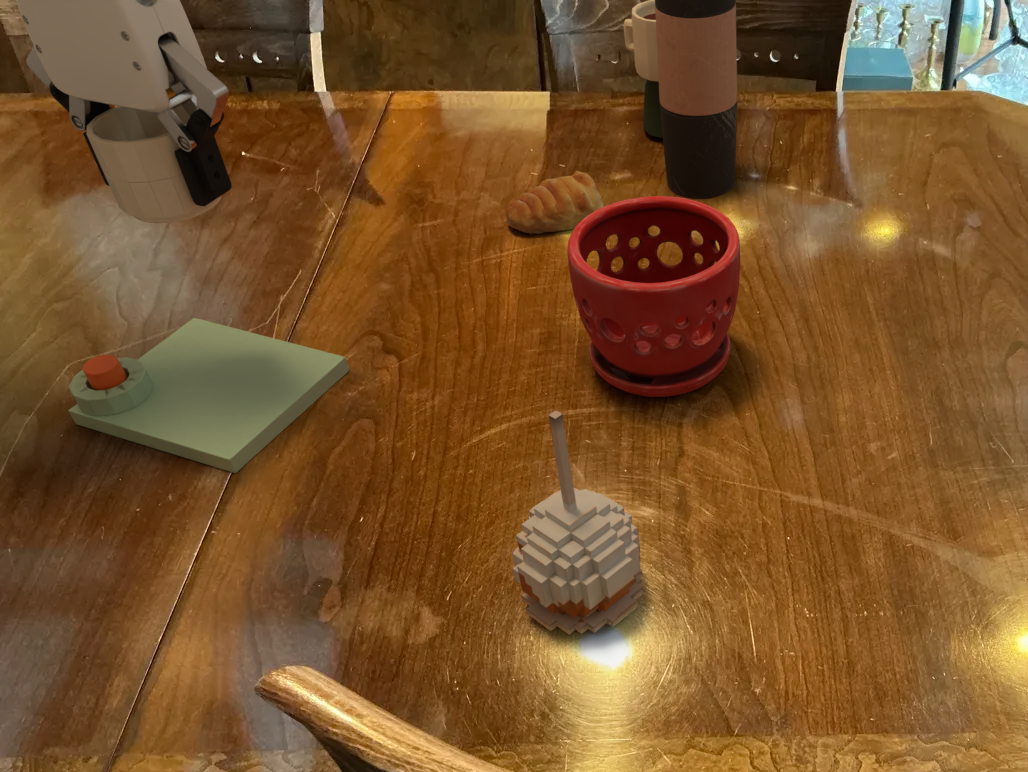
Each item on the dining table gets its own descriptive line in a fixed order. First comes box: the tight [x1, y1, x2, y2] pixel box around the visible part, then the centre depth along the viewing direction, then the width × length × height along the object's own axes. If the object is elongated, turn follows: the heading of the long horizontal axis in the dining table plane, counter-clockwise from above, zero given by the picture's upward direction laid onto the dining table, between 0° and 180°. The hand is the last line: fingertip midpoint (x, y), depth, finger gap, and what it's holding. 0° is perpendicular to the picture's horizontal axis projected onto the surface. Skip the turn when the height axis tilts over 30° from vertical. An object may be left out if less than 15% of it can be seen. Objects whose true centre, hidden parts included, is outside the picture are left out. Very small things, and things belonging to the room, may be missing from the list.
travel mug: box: [655, 0, 738, 199], centre depth 105 cm, size 8×8×20 cm
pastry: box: [505, 170, 605, 235], centre depth 106 cm, size 9×7×4 cm
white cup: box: [87, 97, 222, 224], centre depth 75 cm, size 7×7×6 cm
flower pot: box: [566, 195, 741, 398], centre depth 85 cm, size 13×13×12 cm
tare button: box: [82, 354, 127, 391], centre depth 84 cm, size 3×3×2 cm
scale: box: [68, 317, 350, 474], centre depth 86 cm, size 17×14×3 cm
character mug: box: [623, 0, 663, 139], centre depth 116 cm, size 11×7×13 cm, turn 58°
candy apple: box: [511, 409, 644, 635], centre depth 66 cm, size 8×8×15 cm
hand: (169, 186), depth 76 cm, fingers closed on white cup, 7 cm apart
